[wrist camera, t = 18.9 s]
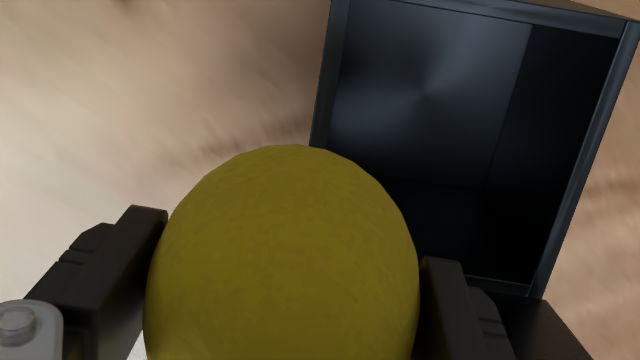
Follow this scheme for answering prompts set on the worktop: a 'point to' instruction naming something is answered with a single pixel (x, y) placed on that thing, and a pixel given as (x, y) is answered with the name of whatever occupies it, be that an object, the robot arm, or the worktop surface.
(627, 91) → the worktop surface
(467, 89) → the bin
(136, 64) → the worktop surface
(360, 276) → the lemon
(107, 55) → the worktop surface
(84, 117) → the worktop surface
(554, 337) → the bin lid
